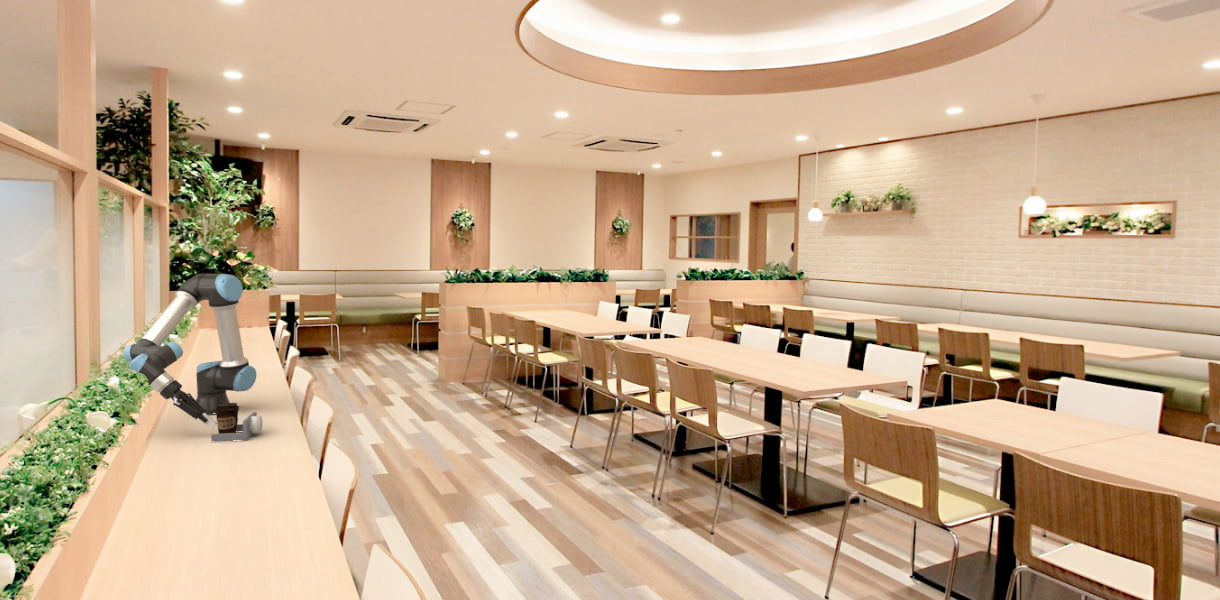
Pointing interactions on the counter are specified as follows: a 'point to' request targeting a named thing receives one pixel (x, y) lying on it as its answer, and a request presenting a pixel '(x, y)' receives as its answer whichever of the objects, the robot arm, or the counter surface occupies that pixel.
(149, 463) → the counter surface
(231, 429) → the coffee cup
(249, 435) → the bracket
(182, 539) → the counter surface
